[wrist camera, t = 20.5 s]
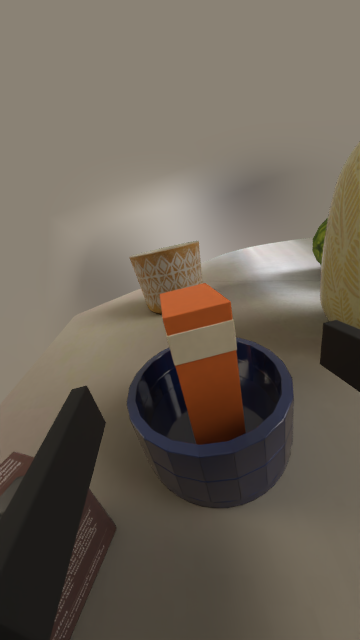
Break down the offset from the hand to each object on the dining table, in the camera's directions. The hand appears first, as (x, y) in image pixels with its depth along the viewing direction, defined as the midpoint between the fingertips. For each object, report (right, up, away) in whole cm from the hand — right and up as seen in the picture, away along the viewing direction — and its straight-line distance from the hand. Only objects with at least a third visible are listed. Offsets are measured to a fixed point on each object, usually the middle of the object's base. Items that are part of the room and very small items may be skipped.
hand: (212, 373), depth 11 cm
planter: (-3, +8, +49) cm, 49 cm away
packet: (+2, -7, +10) cm, 12 cm away
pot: (+2, -8, +10) cm, 13 cm away
